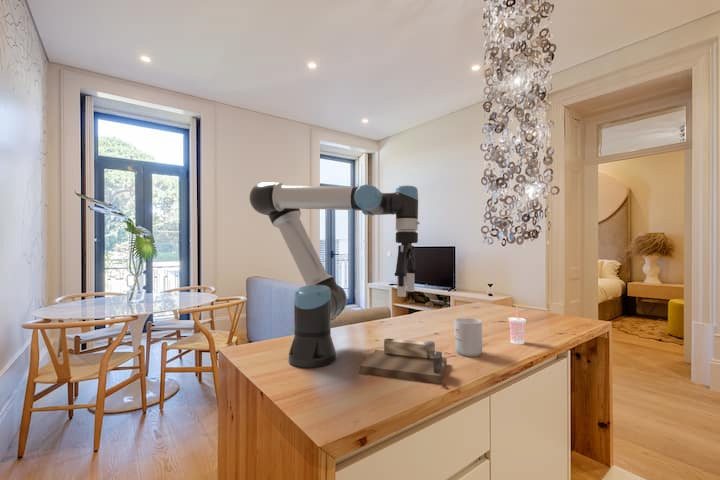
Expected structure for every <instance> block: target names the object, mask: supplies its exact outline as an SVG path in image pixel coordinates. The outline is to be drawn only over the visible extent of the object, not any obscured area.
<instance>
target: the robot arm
mask: <svg viewBox="0 0 720 480" xmlns="http://www.w3.org/2000/svg"><path fill="white" fill-rule="evenodd" d="M395 189H396V190H395V192H382V191H380V190H379V189H378V188H377V187H376V186H374V185H372V184H363V185H360V186H339V185H337V186H336V185H335V186H334V185H333V186H332V185H331V186H330V185H326V186H324V185H322V186H320V185H313V186H312V185H285V184H284V183H282V182H272V181H271V182H270V181H262V182H258V183H257V184H255V185H254V186H253V187H252V189H251V190H250V193H249V203H250V206H251V207H252V209H253V210H254V211H255V212H257V213H258V214H261V215H265V216H267V217H268V218H269V220H270V222H271V224H272V226H273V227H275V228H278V229H279V231H280V233H281V235H282V238H283V240H284V242H285V244H286V247H287V248H288V250H289V252H290V255H291V256H292V258H293V260H294V263H295V265H296V267H297V268H298V271H299V273H300V275H301V277H302V280H303V282H304V283H305V286H304V285H303V286H300V287H299V288H297V289H296V290H295V292H294V299H293V304H294V305H293V306H294V307H293V308H294V316H293V317H294V318H293V319H294V320H293V322H294V327H293V329H294V330H293V331H294V333H293V334H294V336H293V339H292V341H291V342H292V343H291V346H290V349H289V350H288V351H289V352H288V363H289V364H290V365H292V366H295V367H297V368H298V367H299V368H311V369H312V368H320V367H326V366H329V365H331V364H333V363H334V362H335V361H336V359H337V351H336V349H335V344H334V342H333V338H332V336H331V325H332V324H331V320H333V318H336V317H338V316H339V315H340V314H342V312H343V311H344V310H345V308H346V305H347V303H348V297H347V294H346V292H345V289H343V288H342V287H341V286H340V285H339V284H338V283H337V282H336V279H335V278H334V276H333V275H331V274H328V273H327V271H326V268H325V267H324V265H323V263H322V261H321V259H320V257H319V255H318V253H317V251H316V248H315V247H314V245H313V243H312V241H311V238H310V237H309V234H308V233H307V231H306V229H305V227H304V224H303V222H302V220H301V215H302V212H301V210H300V209H302V210H336V211H339V210H340V211H343V210H344V211H361V212H362V214H363V215H364V216H378V215H379V216H380V215H381V216H384V215H385V216H386V215H387V216H388V215H391V216H392V215H395V231H396V232H395V243H396V244H399V245H398V247H397V249H398V250H397V251H398V252H397V258H396V260H397V261H396V265H395V266H396V267H395V273H394V277H396V279H397V284H396V285H397V287H396V288H397V289H396V293H397V294H396V295H397V297H398V298H399V297H403V298H406V297H407V292H412V293H414V292H415V274H417V272H418V270H417V269H416V268H417V267H416V259H415V258H416V257H415V246H414V245H412V244H418V241H419V237H418V236H419V233H418V232H417V231H418V229H419V227H418V225H420V221H418V219H419V191H418V188H417V187H416V186H413V185H400V186H397V187H396V188H395ZM400 244H401V245H400Z"/></svg>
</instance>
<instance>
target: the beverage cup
mask: <svg viewBox="0 0 720 480" xmlns="http://www.w3.org/2000/svg"><path fill="white" fill-rule="evenodd" d="M518 307H519V306H518V305H516V306H515V308H516V310H515V313H516V316H515V317H508V318H507V319H508V324H509V335H510V337H509V338H510V343H511V344H515V345H524V344H525V333H526V331H525V329H526V322H527V320H526V319H525V318H523V317H519V316H518V312H519V310H518V309H519V308H518Z"/></svg>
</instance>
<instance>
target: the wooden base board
mask: <svg viewBox="0 0 720 480" xmlns="http://www.w3.org/2000/svg"><path fill="white" fill-rule="evenodd" d="M447 365H448V364H447V357H444V356H443V353H442V351H436V350H435V356H434V359H431V358H422V357H413V356H404V355H395V354H387V353H384V349H383V350H381V349H375V350H374V351H373V352H372V353H370V354H369V356H368V357H367V358H365V359H364V361H362V362H360V364H359V366H358V369H359V371H358V372H359V373H360V374H361V373H362V374H367V375H373V376H375V375H376V376H383V377H387V378H388V377H389V378H390V377H391V378H394V379H395V378H398V379H404V380H410V381H418V382H425V383H430V384H431V383H432V384H433V383H434V384H441V383H442V380H443V376H444V374H445V371H446V367H447Z"/></svg>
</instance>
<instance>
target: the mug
mask: <svg viewBox="0 0 720 480" xmlns="http://www.w3.org/2000/svg"><path fill="white" fill-rule="evenodd" d="M453 336H454V350H455V351H456V352H457V354H459V355H461V356H463V357H470V358H471V357H475V358H476V357H478V356H480V355H481V354H482V353H483V321H482V320H480V319H477V318H471V317H470V318H468V317H460V318H455V320H454V321H453Z"/></svg>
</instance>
